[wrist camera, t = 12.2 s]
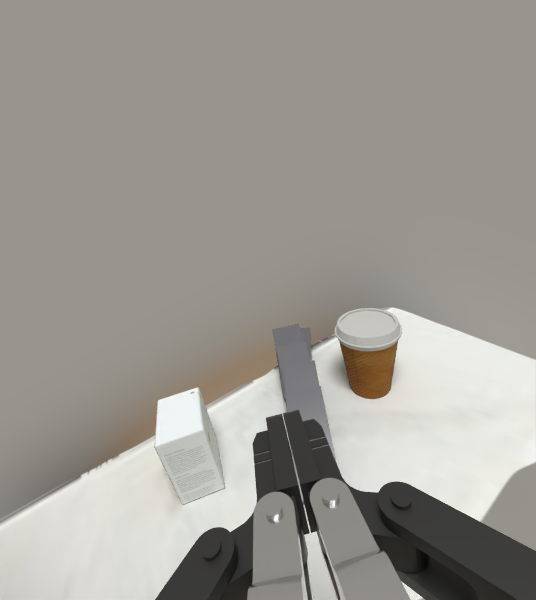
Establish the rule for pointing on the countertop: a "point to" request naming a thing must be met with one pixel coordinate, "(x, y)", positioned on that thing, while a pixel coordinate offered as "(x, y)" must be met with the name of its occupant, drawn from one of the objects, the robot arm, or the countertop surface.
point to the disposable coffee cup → (369, 349)
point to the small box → (188, 445)
